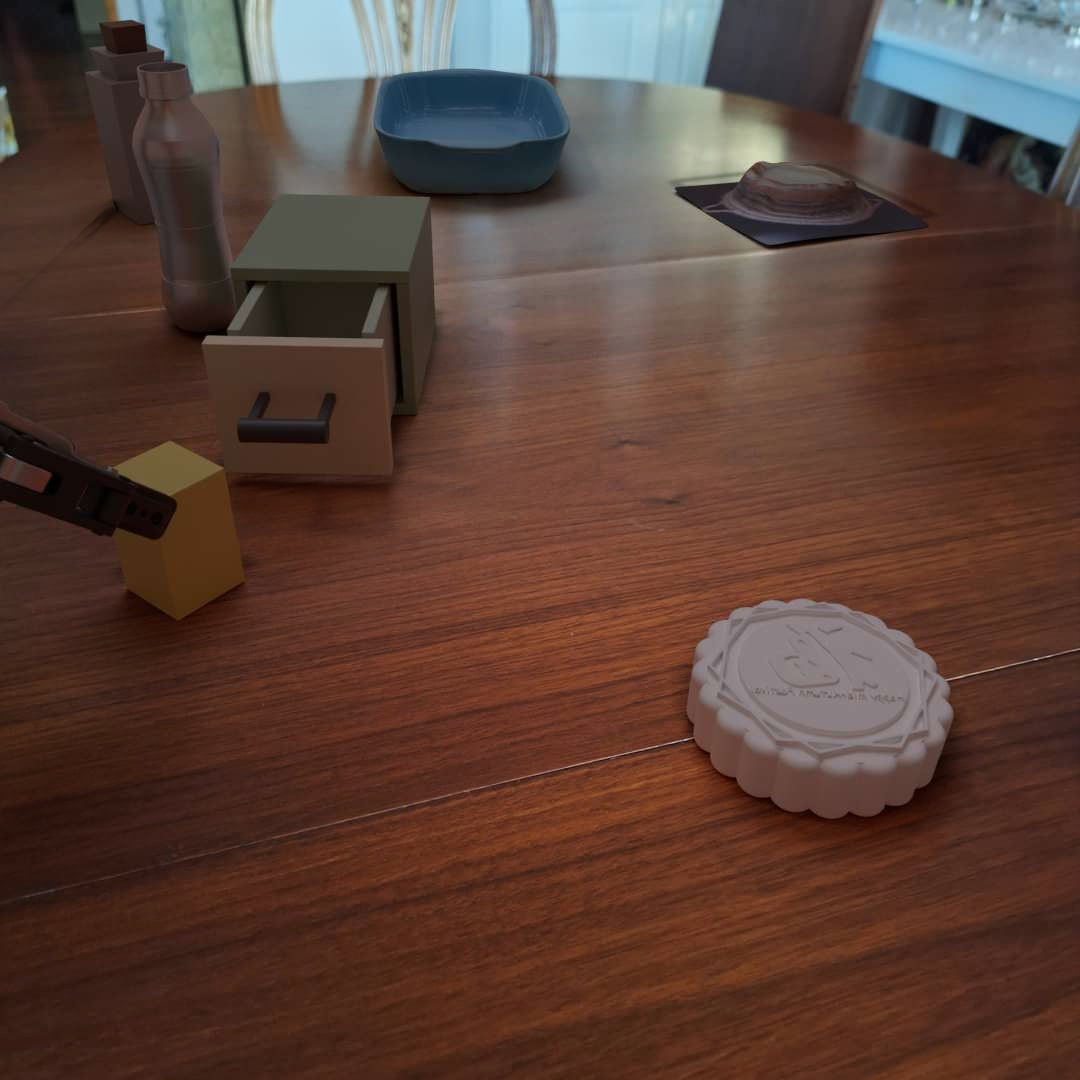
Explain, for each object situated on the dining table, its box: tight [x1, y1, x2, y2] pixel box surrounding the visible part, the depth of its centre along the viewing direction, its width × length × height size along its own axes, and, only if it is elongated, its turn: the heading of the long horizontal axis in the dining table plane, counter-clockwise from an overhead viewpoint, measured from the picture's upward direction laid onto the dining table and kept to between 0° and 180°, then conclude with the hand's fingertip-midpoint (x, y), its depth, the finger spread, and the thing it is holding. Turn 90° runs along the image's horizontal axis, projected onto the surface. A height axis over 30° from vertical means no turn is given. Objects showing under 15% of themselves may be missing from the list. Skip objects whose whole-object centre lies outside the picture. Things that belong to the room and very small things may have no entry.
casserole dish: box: [373, 68, 571, 195], centre depth 125 cm, size 37×22×7 cm, turn 5°
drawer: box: [201, 281, 402, 476], centre depth 67 cm, size 20×11×9 cm, turn 0°
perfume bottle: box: [84, 19, 165, 226], centre depth 105 cm, size 7×7×18 cm
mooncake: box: [686, 598, 955, 820], centre depth 49 cm, size 12×12×4 cm
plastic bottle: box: [132, 61, 237, 333], centre depth 81 cm, size 6×7×20 cm
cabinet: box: [230, 193, 437, 416], centre depth 78 cm, size 16×12×11 cm
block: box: [111, 440, 246, 621], centre depth 56 cm, size 5×5×8 cm
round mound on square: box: [674, 160, 930, 246], centre depth 114 cm, size 21×20×4 cm
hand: (112, 489), depth 52 cm, fingers open, 8 cm apart
